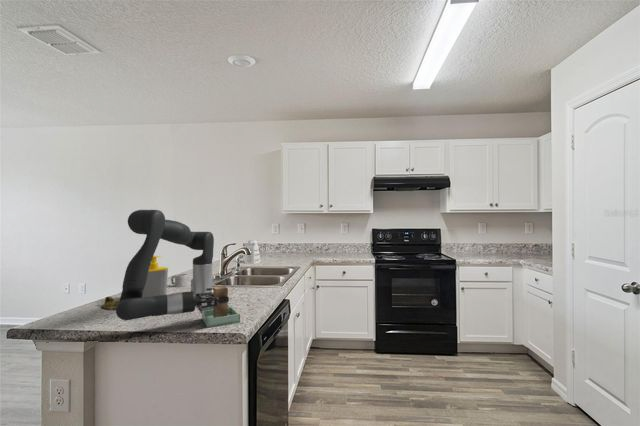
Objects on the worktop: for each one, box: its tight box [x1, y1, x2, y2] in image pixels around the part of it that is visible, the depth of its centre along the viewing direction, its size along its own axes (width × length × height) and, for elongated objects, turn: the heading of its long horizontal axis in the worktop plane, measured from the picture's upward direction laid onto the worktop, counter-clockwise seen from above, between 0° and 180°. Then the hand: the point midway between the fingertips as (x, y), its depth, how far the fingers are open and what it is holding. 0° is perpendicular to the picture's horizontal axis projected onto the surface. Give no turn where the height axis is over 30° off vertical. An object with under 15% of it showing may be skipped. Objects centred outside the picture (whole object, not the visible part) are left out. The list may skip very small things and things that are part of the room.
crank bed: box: [198, 287, 230, 312], centre depth 141 cm, size 11×16×8 cm
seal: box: [100, 296, 120, 311], centre depth 144 cm, size 9×5×15 cm
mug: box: [170, 273, 188, 288], centre depth 189 cm, size 10×7×7 cm
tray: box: [201, 306, 241, 329], centre depth 124 cm, size 12×12×3 cm
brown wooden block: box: [212, 285, 229, 318], centre depth 124 cm, size 4×4×12 cm
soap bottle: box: [142, 255, 169, 298], centre depth 160 cm, size 13×13×21 cm
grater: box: [244, 240, 262, 265], centre depth 286 cm, size 10×10×20 cm
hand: (226, 297), depth 125 cm, fingers open, 6 cm apart
